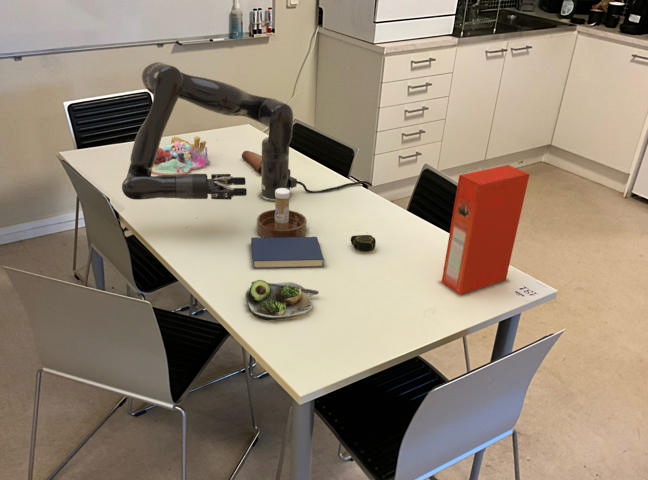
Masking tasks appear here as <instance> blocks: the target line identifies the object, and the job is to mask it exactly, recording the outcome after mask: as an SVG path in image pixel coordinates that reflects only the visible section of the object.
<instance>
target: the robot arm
mask: <svg viewBox="0 0 648 480" xmlns="http://www.w3.org/2000/svg"><path fill="white" fill-rule="evenodd" d="M141 81H142V84H143V86H144V87H145V89H146V90H147V91H148V92H149V93H150V94H152V95H153V99H152V100H153V101H152V104H151V107H150V110H149V112H148V115H147V117H146V118H145V120H144V122H143V123H142V124H141V126H140V128H139V130H138V131H137V133H136V136H135V139H134V142H133V146H132V149H131V153H130V163H129V167H128V171H127V174H126V177H125V178H124V180H123V181H122V184H121V191H122V193H123V195H124V196H125V197H126V198H128V199H130V200H136V201H137V200H140V201H141V200H142V201H143V200H153V199H179V200H180V199H181V200H207V199H209V195H210V199H211V200H232V199H233V198H234V197H246V196H247V194H248V193H247V191H248V190H247V188H245V187H231V186H245V185H246V177H245V176H244V177H243V176H239V177H237V176H236V177H235V176H233V175H232V174H230V173H214V174H213V173H212V174H211V175H210V178H208V174H207V173H186V174H176V175H161V174H157V175H152V174H153V173H152V168H153V165H154V163H155V159H156V156H157V152H158V149H159V148H160V144H161V141H162V137H163V135H164V132H165V129H166V127H167V125H168V122H169V120H170V118H171V115H172V114H173V110H174V108H175V106H176V104H177V102H178V100H179V99H181V100H183V101H186V102H188V103H190V104H192V105H195V106H197V107H200V108H202V109H205V110H207V111H210V112H212V113H215V114H220V115H223V116H228V117H243V118H248V119H251V120H253V121H255V122H258V123H259V124H261V125H263V126H265V127H267V128H268V137H264V138H263V139H262V141H261V156H262V175H261V183H260V188H261V190H260V191H261V192H260V196H261V198H262V199H263V200H266V201H268V202H276V197H275V190H276V189H278V188H286V189H288V190H290V191H291V189H293V188H296V187H297V185H300V186H302V188H303V190H304V191H305V192H306V193H309V194H318V193H319V194H320V193H327V192H330V191H336V190H340V189H342V188H345V187H351V186H356V185H361V184H362V185H363V184H365V185H368V186H369V187H373V184H372V183H371V182H369V181H367V180H361V181H355V182H347V183H344V184H341V185H338V186H335V187H329V188H324V189H321V190H310V189H308V188H307V187H306V185H305V184H304V183H303V182H302V181H299V180H298V179H297V178H295V177H293V176H291V169H290V168H289V163H290V144H291V143H292V140H293V131H294V130H293V129H294V128H293V127H294V111H293V108H292V107H291V106H290V105H289V104H288V103H285V102H283V101H281V100H279V99H276V98H273V97H266V96H261V95H256V94H252V93H249V92H247V91H245V90H244V89H241V88H240V87H238V86H236V85H235V86H234V85H232V84H229V83H227V82H224V81H220V80H216V79H213V78H212V79H211V78H206V77H202V76H196V75H191V74H188V73H184V72H182V71H180V69H179V68H177V67H176V66H174V65H171V64H168V63H165V62H160V61H159V62H158V61H156V62H153V63H150V64H148V65H147V66H145V68H144V69H143V70H142V73H141Z"/></svg>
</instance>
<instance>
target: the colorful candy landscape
mask: <svg viewBox="0 0 648 480" xmlns="http://www.w3.org/2000/svg"><path fill="white" fill-rule="evenodd" d="M206 144H207V141H206V140H203V141H201V137H200V136H194V138H193V143H190V142H189V141H188V140H184V139H183V138H181V137H178V136H173V137H172V138H171V141H170V143H169V144H166V145H164V146H163V147H159V149H158V152H157V156H156V159H155V163H154V165H153V168H152V173H151V174H155V175H176V174H189V172H190V171H191V170H197V169H201V168H203V167H205V166H206V165H207V164H208V163H209V157H208V147H207V146H206Z"/></svg>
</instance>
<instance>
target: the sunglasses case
mask: <svg viewBox="0 0 648 480" xmlns="http://www.w3.org/2000/svg"><path fill="white" fill-rule="evenodd" d="M241 159H243V161H245V162H246V163H247V164H248V165H250V167H251V168H252V169H254V171H255V172H256V173H258V174H259V176H262V154H258V153H257V152H253V151H250V150H244V151H243V152H242V154H241Z"/></svg>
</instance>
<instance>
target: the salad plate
mask: <svg viewBox="0 0 648 480" xmlns="http://www.w3.org/2000/svg"><path fill="white" fill-rule="evenodd" d="M319 293H320V292H319V290H316V289H309V288H304V286H302V285H301V284H298V283H296V282H292V281H287V282H285V281H284V282H275V283H272V282H267V281H265V280H263V279H257V280H253V281H252V282H251V285H250V287H248V288H247V289H246V292H245V301H246V304H247V306H248V311H249V312H250V314H251V315H253V316H254V317H255V318H257V319H259V320H263V321H278V320H286V319H293V318H295V317H299V316H303V315H306V314H308V313H309V312H310V311H311V310H313V309H314V304H313V302H312V300H311V297H312V296H314V295H315V296H317V295H318V294H319Z"/></svg>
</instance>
